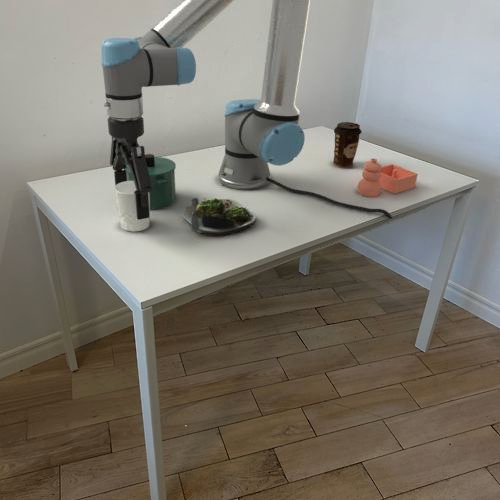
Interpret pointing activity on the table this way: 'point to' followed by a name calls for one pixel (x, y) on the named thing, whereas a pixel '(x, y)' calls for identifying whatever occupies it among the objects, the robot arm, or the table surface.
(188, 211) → the salad plate
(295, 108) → the robot arm
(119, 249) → the table surface
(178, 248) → the table surface
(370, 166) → the pottery
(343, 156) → the coffee cup
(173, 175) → the pot
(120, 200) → the white cup
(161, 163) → the pot lid
